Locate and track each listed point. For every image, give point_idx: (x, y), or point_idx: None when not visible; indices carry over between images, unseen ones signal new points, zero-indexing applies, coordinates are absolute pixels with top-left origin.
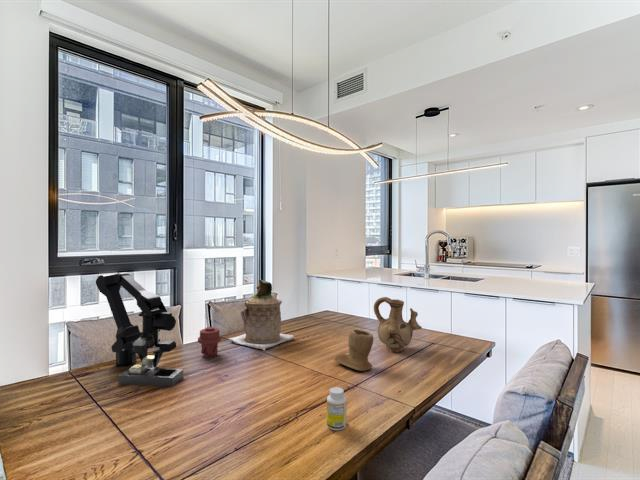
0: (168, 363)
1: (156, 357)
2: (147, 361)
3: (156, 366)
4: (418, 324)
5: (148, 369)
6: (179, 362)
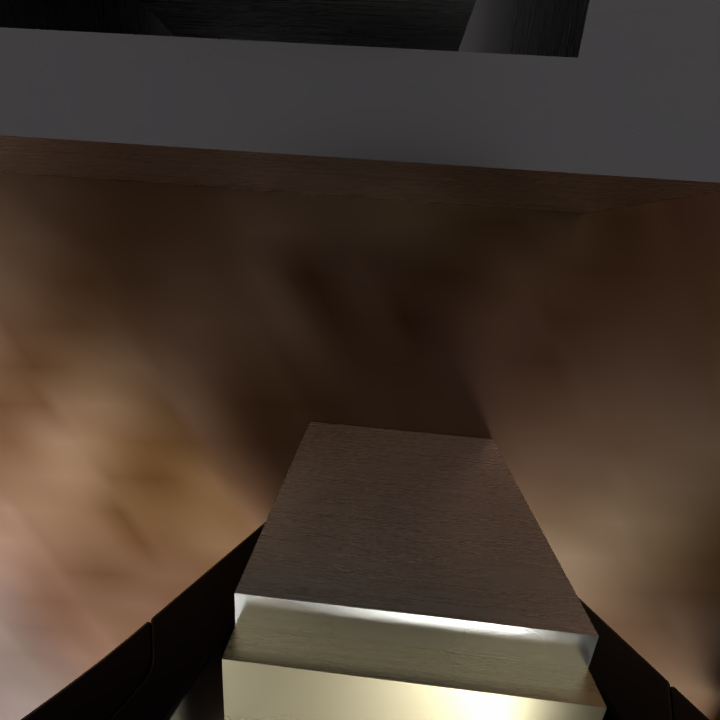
0: None
1: (96, 701)
2: (404, 570)
3: None
4: None
5: (97, 44)
6: None
